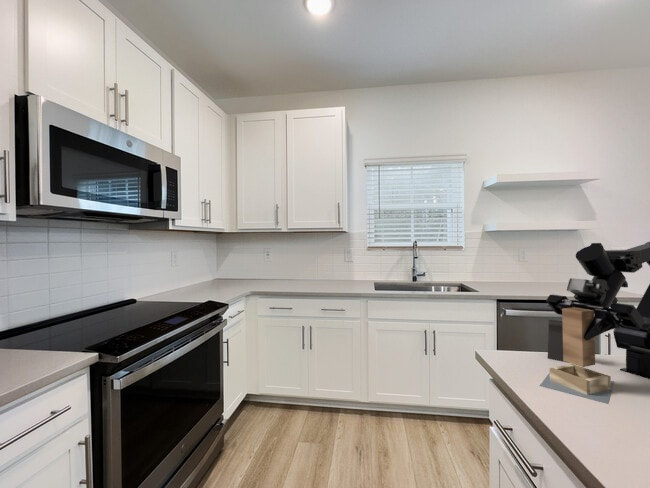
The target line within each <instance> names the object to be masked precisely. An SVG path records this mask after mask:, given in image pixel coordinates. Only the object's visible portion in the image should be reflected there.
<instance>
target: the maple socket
mask: <svg viewBox="0 0 650 488" xmlns="http://www.w3.org/2000/svg"><path fill="white" fill-rule="evenodd" d="M549 373H550V380H551V381H553V382H556V383H558V384H561V385H564V386H566V387H569V388H571V389H574V390H576V391H579V392H581V393H584V394H586V395H588V394H592V393H596V392H601V391H605V390H609V389H611V381H612V380H611V379H612V376H611V375H608V374H604V373H601V372H599V371H596V370H592V369H589V368H586V367H581V366H578V365H575V364H572V363H569V364H564V365H560V366H554V367H550V368H549Z"/></svg>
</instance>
